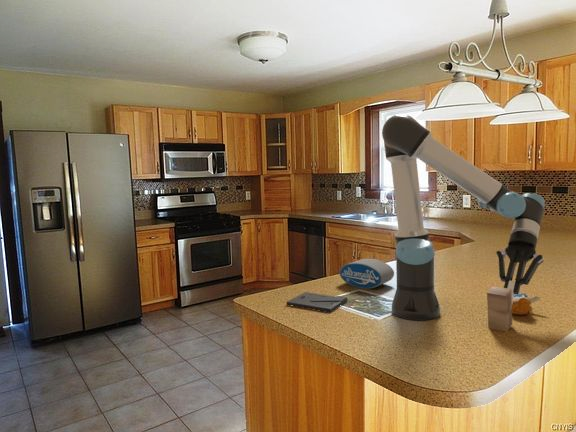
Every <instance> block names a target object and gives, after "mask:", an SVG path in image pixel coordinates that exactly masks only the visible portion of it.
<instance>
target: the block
mask: <svg viewBox="0 0 576 432" xmlns="http://www.w3.org/2000/svg"><path fill="white" fill-rule="evenodd" d="M486 300H487V301H486V305H487V324H488V325H487V328H489V329H493V330H497V331H502V332H508V331H509V330H510V328H511V327H512V326H513V313H512V289H508V288H504V287H500V286H496V285H495V286H494V285H493V286H492V287H490V289H489V290H488V291H487V292H486Z"/></svg>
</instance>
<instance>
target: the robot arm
mask: <svg viewBox="0 0 576 432" xmlns="http://www.w3.org/2000/svg"><path fill="white" fill-rule="evenodd" d="M432 135H433V134H432V132H431V131H430V130H429V129H427V128H426V127H424V126H423V125H421V124H420V123H419V122H418V121H417V120H416V119H415V118H414V117H413V116H411V115H408V114H406V113H398V114H393V115H392V116H390V117H389V118H388V119H387V120H386V121H385V122H384V124H383V127H382V130H381V136H382V139H383V144H384V152H385V159H386V160H387V161H388V162H389V163H390V166H391V167H390V168H391V176H392V183H393V193H394V202H395V203H394V204H395V211H396V218H397V219H396V220H397V227H398V229H397V231H396V232H395V234H394V239H395V241H394V243H395V256H396V257H395V260H396V263H395V264H396V265H395V266H396V268H395V269H396V270H395V271H396V290H395V294H394V297H393V299H392V302H391V312H392V314H393V315H394V316H396V317H398V318H400V319H405V320H412V321H428V320H433V319H436V318H438V317H440V315H441V306H440V303H439V300H438V297H437V295H436V291H435V255H436V254H435V249H434V248H435V247H434V244H433V243H432V242H431V241H430V233H429V231H428V230H427V229H426V228H425V226H424V217H423V209H422V199H421V191H420V189H421V188H420V180H419V172H418V162H417V160H419V161H421V162H423V163H424V164H426V165H427V166H428V167H430V168H432V169H433V170H434V171H436V172H437V173H439V174H440V175H442V176H443V177H444V178H447V180H450V181H451V182H452V183H453V184H455V185H456V186H458V187H460V188H461V189H462V190H464V191H465V192H467V193H469V194H470V195H471V196H473V197H474V198H476V199H477V200H478V201H477V203H478V206H480V207H482V208H484V209H486V210H489V211H492V212H493V213H494V212H495V214H499V215H500V216H502V217H503V218H507V219H513V225H512V228H511V231H510V235H509V238H508V243H507V246H506V247H505V248H504V250H502V251H500V250H497V251H496V255H497V258H498V270H499V271H498V275H499V278H500V281H501V282H504V286H503V288H508V289H512V304H513V299H514V295H518V294H520V290H521V286H522V285H525V286H528V285H529V284H530V282H531V280H532V278H533V276H534V274H535V273H536V271H537V269H538V267H539V266H540V265H541V264H542V263H544V258H543V255H542V254H538V253H537V250H536V248H537V243H538V238H539V235H540V229H541V225H542V221H543V216H544V213H545V206H546V205H545V204H546V203H545V201H546V200H545V199H544V197H543V196H542V195H540V194H537V193H530V192H527V193H524V194H522V195H521V194H519V193H518V192H515V191H513V190H511V189H510V188H508V187H507V186H505V185H503V184H502V183H501V182H499V181H498V180H497V179H495V178H493V177H492V176H491V175H489V174H487V173H486V172H484V171H483V170H482V169H480V168H479V167H477V166H476V165H474V164H473V163H471V162H470V161H468V160H467V159H466V158H463V156H461V155H459V154H458V153H456V152H455V151H453V150H452V149H451V148H449V147H447V145H445V144H443V143H442V142H440V141H438V140H437V139H435V138H434V137H433V136H432ZM506 256H507V257H508V259H509V264H508V268H507V272H506V266H505V258H506ZM531 260H532V261H531ZM530 261H531V263H530V265H529V266H528V268H527V267H526V266H527V263H528V262H530ZM517 264H518V267H517V271H516V275H515V278H513V277H514V274H515V270H516V266H517ZM526 268H527V270H525V269H526ZM513 279H514V280H513Z"/></svg>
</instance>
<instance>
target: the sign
mask: <svg viewBox="0 0 576 432" xmlns="http://www.w3.org/2000/svg"><path fill="white" fill-rule="evenodd" d="M338 274H339V276H340V278H341V279H342V280H343V281H344V282H345V283H346V284H348V285H350V286H352V287H355V288H359V287H360V288H361V289H375V288H378V287H380V286H382V285H383V284H385V283H388V282H390V281H392V280H393V278H394V276H395V270H394V269H393V268H392V267H391V265H389V264H388V263H386V262H385V261H381V260H380V259H375V258H362V259H358V260H355V261H353V262H350V263H346V264H345V265H343V266H341V267H340V268H339V273H338Z"/></svg>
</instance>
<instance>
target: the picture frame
mask: <svg viewBox="0 0 576 432" xmlns="http://www.w3.org/2000/svg"><path fill="white" fill-rule="evenodd" d="M347 301H348V297H347V296H341V295H335V296H334V295H330V294H321V293H314V292H308V291H307V292H306V291H305V292H303V293H300V294H299V295H297V296H295V297H293V298H291V299H289V300H287V301H286V306H287V305H293V306H298V307H297V308H299V307H304V308H303V309H305V308H310V309H309V310H311V309H315V310H314V311H317V310H320V311H319V312H323V311H326V312H325V313H329V312H331V313H333V312H334V311H336V310H337V309H339V308H340V307H341V306H340V305H342V304H343V305H344V303H345V302H346V303H347ZM348 302H349V301H348ZM346 303H345V304H346ZM343 305H342V306H343ZM293 306H292V307H293ZM339 306H340V307H339ZM338 307H339V308H338ZM336 308H337V309H336ZM335 309H336V310H335ZM333 310H334V311H333ZM332 311H333V312H332Z"/></svg>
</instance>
